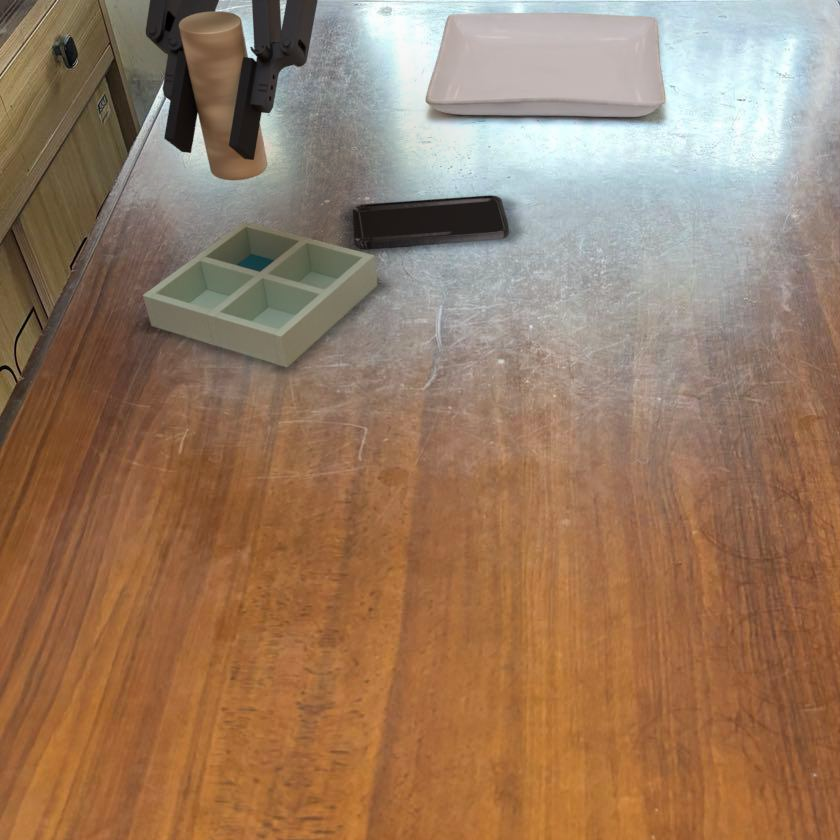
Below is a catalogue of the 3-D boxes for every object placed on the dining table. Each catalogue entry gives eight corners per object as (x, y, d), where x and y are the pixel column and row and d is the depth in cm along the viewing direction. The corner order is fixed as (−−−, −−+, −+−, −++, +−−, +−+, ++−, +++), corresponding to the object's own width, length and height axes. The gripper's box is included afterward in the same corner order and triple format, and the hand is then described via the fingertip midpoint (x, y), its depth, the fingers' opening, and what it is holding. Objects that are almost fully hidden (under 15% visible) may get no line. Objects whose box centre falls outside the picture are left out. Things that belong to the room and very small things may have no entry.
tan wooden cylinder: (198, 173, 86) (165, 26, 78) (234, 151, 89) (205, 7, 81) (244, 185, 85) (215, 37, 77) (278, 162, 87) (253, 16, 80)
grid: (152, 330, 97) (142, 295, 95) (250, 255, 106) (243, 220, 104) (288, 372, 93) (281, 336, 90) (378, 290, 102) (374, 255, 99)
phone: (352, 205, 111) (500, 194, 113) (353, 215, 112) (500, 204, 113) (354, 244, 105) (510, 232, 107) (356, 254, 106) (510, 242, 108)
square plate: (449, 40, 146) (447, 10, 143) (655, 44, 145) (658, 13, 143) (425, 128, 127) (423, 94, 124) (664, 132, 126) (667, 99, 123)
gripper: (387, -123, 84) (337, 179, 84) (176, -137, 87) (128, 155, 87) (355, -190, 77) (300, 141, 77) (126, -203, 79) (73, 117, 79)
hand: (209, 148), depth 82 cm, fingers closed on tan wooden cylinder, 4 cm apart
